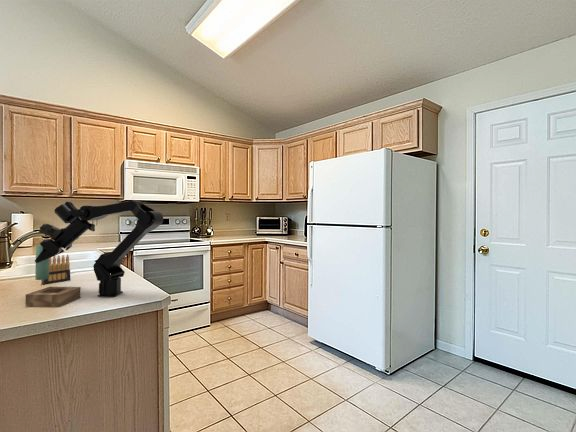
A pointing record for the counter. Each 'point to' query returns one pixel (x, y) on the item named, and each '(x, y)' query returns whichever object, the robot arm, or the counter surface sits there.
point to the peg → (41, 266)
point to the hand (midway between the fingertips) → (37, 261)
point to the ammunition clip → (58, 270)
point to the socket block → (52, 296)
